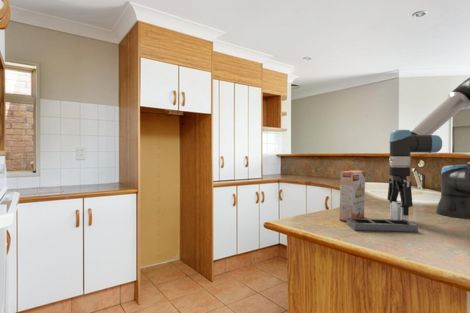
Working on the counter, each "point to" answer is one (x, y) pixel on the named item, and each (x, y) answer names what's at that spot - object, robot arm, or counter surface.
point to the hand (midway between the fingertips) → (398, 220)
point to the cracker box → (352, 194)
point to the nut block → (396, 209)
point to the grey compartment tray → (382, 225)
